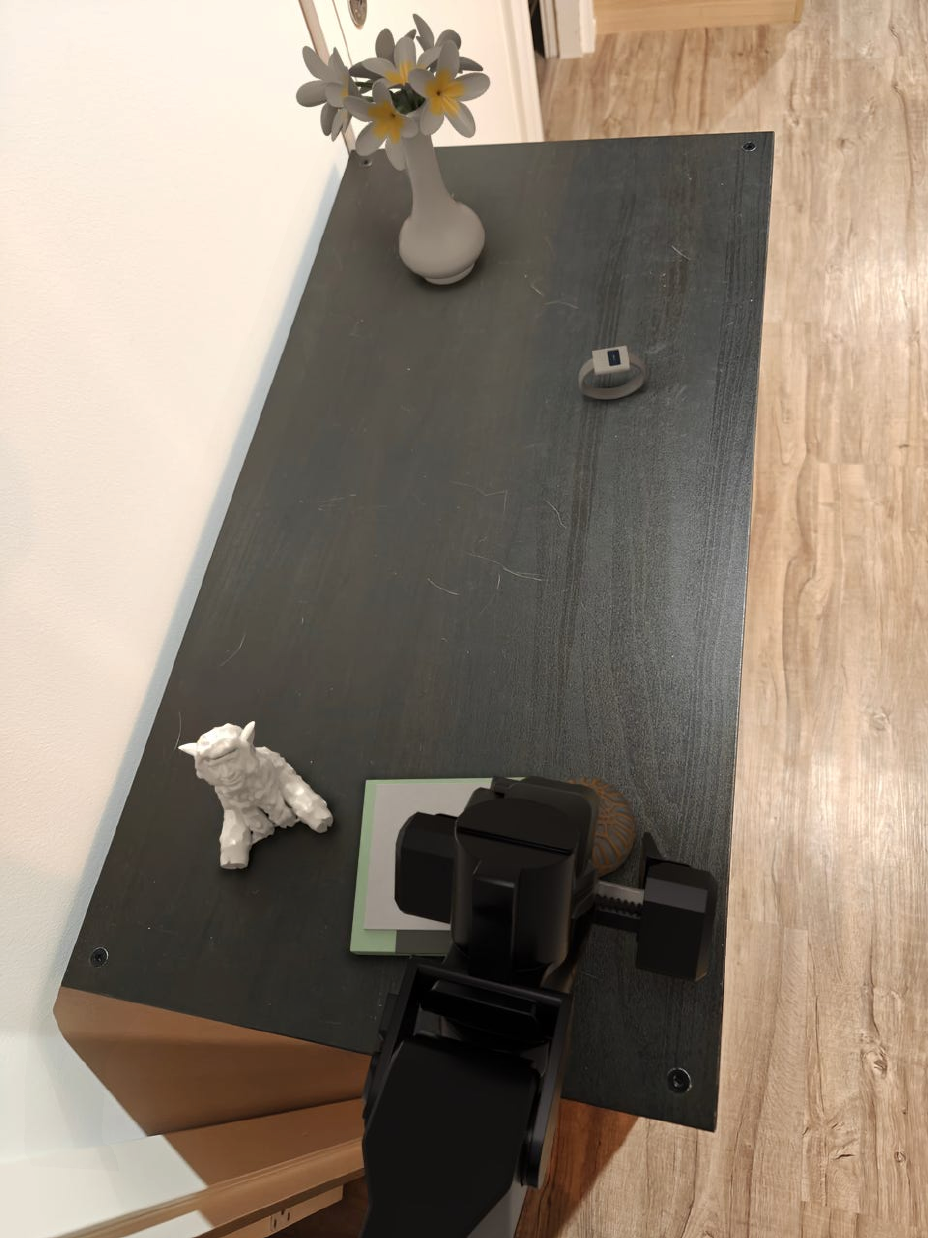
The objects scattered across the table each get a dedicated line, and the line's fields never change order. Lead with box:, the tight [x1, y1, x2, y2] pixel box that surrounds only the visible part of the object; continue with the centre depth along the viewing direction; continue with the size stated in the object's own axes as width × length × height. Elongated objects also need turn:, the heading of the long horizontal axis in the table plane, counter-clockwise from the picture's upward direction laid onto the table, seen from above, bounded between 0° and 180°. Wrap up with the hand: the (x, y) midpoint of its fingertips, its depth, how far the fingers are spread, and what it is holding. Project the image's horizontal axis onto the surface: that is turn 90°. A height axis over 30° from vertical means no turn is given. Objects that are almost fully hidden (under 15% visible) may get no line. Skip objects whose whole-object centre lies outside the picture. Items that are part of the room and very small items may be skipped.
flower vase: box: [295, 13, 491, 286], centre depth 92 cm, size 13×18×25 cm
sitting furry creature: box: [177, 720, 334, 870], centre depth 72 cm, size 10×9×12 cm
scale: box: [349, 776, 527, 957], centre depth 71 cm, size 13×13×2 cm
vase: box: [565, 776, 636, 878], centre depth 67 cm, size 7×7×9 cm
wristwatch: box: [577, 345, 647, 400], centre depth 88 cm, size 6×3×5 cm, turn 92°
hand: (577, 824), depth 63 cm, fingers open, 9 cm apart
